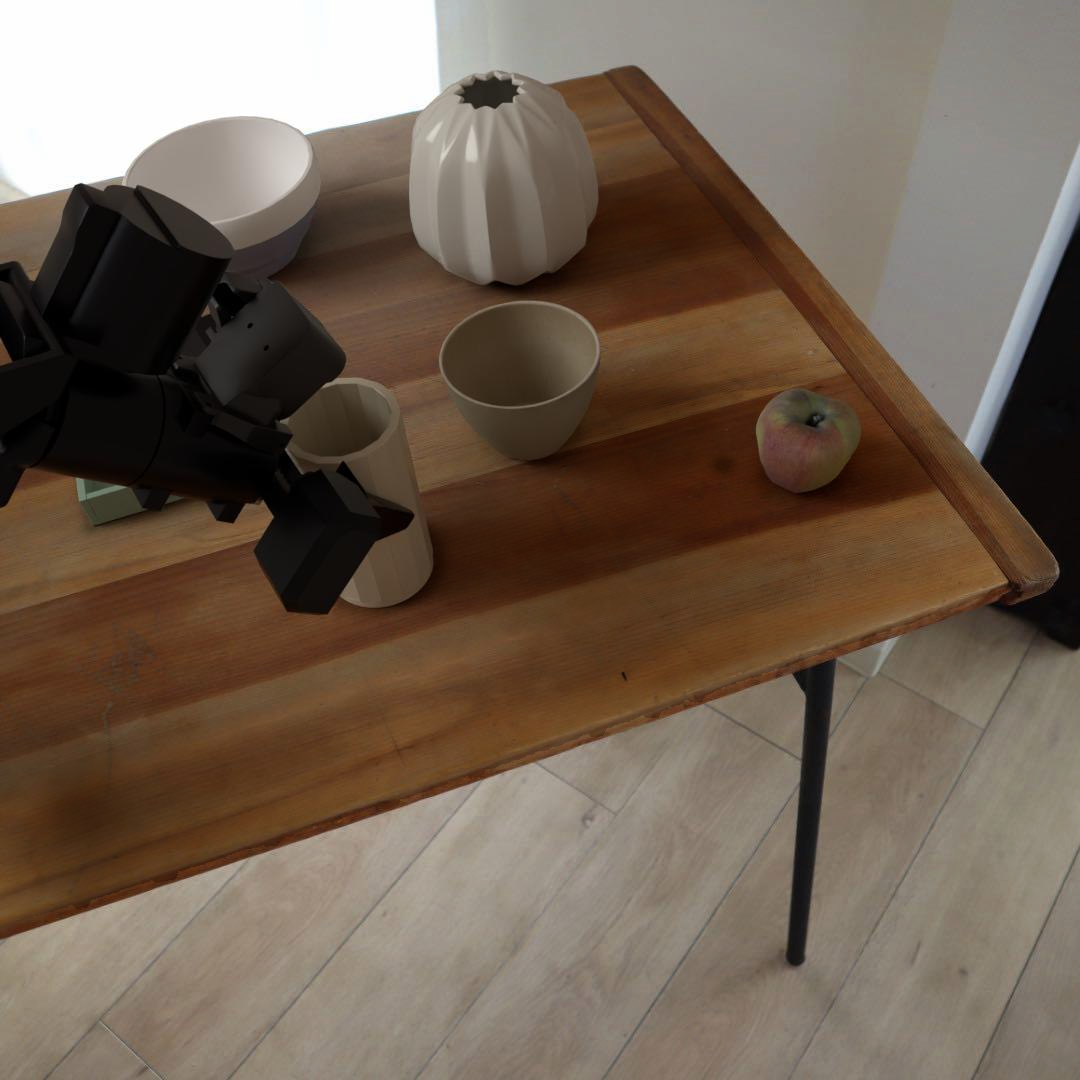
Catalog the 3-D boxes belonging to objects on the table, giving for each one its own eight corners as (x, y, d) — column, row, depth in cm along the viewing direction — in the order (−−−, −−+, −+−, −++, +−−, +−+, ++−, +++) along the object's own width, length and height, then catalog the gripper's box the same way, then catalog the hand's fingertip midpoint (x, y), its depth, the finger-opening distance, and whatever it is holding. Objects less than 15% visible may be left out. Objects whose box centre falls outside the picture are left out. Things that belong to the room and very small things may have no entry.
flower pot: (609, 382, 80) (605, 298, 75) (599, 491, 74) (594, 409, 69) (465, 380, 82) (451, 298, 76) (443, 487, 75) (426, 406, 70)
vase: (433, 199, 95) (407, 41, 85) (604, 198, 94) (599, 36, 84) (405, 310, 87) (371, 148, 77) (593, 311, 85) (584, 146, 75)
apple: (716, 449, 76) (721, 381, 71) (838, 428, 76) (849, 360, 71) (742, 519, 72) (748, 452, 67) (869, 496, 72) (884, 428, 68)
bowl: (145, 324, 88) (109, 239, 82) (161, 211, 97) (129, 128, 92) (338, 297, 88) (316, 211, 83) (335, 187, 98) (315, 103, 92)
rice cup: (342, 621, 69) (292, 478, 59) (319, 544, 73) (268, 397, 63) (446, 588, 70) (413, 441, 60) (417, 513, 74) (382, 364, 64)
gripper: (293, 400, 47) (546, 470, 59) (141, 186, 58) (380, 281, 69) (171, 607, 51) (431, 634, 63) (49, 370, 62) (291, 431, 73)
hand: (382, 483), depth 67 cm, fingers closed on rice cup, 6 cm apart
